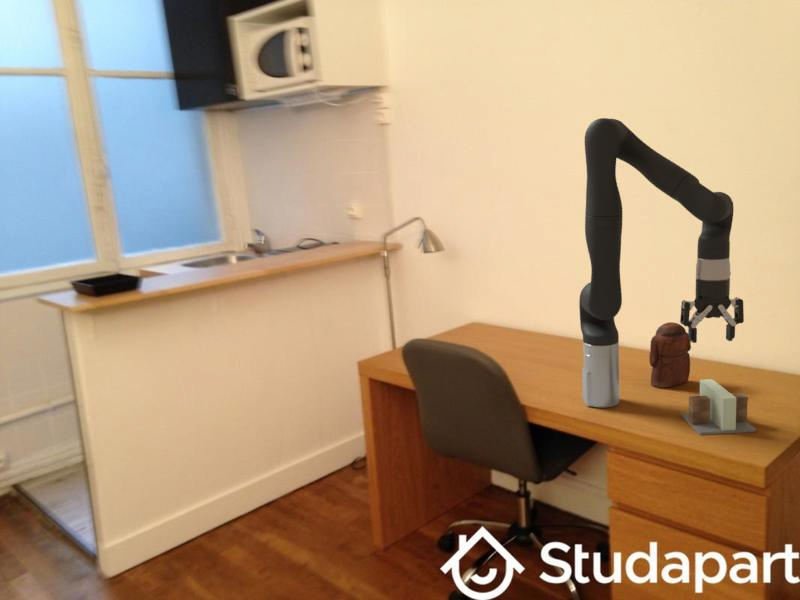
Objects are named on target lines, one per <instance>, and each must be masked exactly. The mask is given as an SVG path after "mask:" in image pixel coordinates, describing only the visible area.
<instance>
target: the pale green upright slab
mask: <svg viewBox="0 0 800 600" xmlns="http://www.w3.org/2000/svg"><path fill="white" fill-rule="evenodd" d="M732 394H733V393H731V392H729V391H728V389H726V388H724V387H723V386H722V385H720V384H719V383H718V382H717V381H715V380H714V379H712V378H709V379H708V378H707V379H699V396H708V397H709V398H710V419H711V420H712V421H713V422H714V423H715V424H716V425H717V426H718V427H719V428H720V429H722V430H723V431H724V430H736V397H735V396H733V395H732Z"/></svg>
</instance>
